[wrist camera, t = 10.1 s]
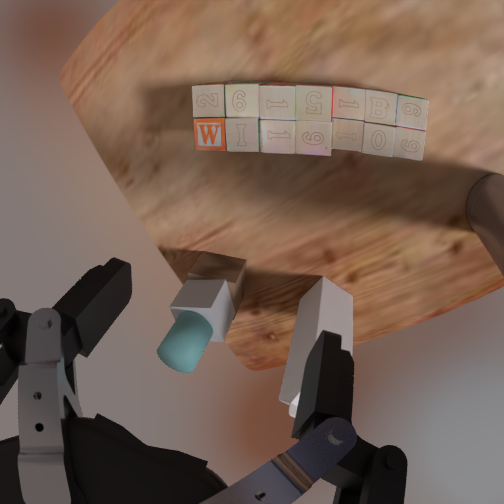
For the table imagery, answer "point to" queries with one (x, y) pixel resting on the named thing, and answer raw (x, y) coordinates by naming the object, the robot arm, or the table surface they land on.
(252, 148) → the stack of blocks
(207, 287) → the grey block
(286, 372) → the milk
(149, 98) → the table surface
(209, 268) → the walnut block
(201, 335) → the teal cylinder
